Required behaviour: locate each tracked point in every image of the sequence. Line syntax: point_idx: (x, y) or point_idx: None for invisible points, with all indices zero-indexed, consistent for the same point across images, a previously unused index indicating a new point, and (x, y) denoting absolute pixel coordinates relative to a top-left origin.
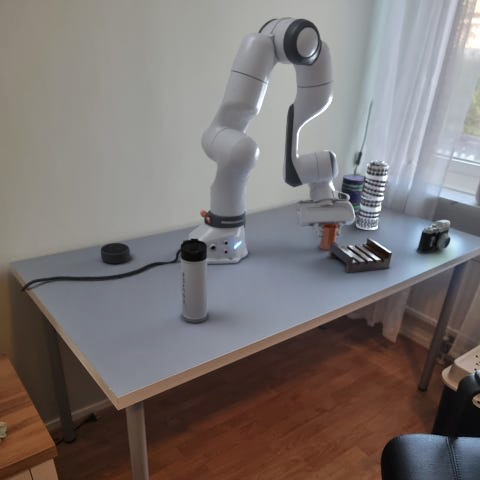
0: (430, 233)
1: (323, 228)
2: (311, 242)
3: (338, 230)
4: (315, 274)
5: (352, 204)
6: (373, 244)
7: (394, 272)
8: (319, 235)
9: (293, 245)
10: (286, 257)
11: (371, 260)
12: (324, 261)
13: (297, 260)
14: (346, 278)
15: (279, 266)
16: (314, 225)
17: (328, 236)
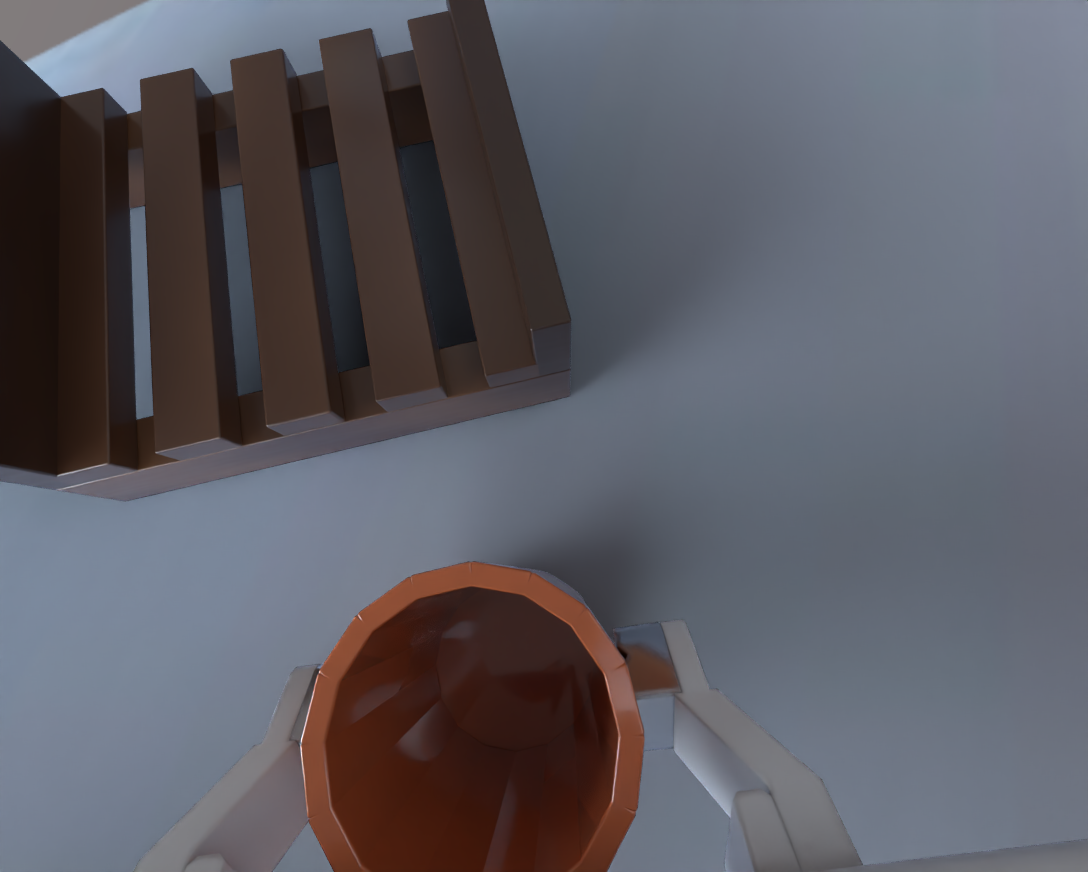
0: None
1: (629, 684)
2: (684, 847)
3: None
4: (762, 67)
5: None
6: (12, 318)
7: None
8: (678, 621)
9: (938, 734)
10: (1017, 377)
11: (245, 57)
12: (635, 292)
13: (901, 310)
14: (532, 19)
15: (1076, 188)
16: (834, 825)
17: (538, 571)
